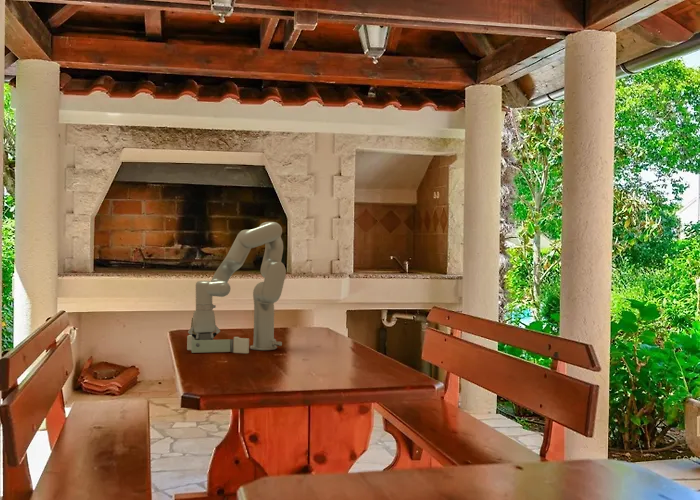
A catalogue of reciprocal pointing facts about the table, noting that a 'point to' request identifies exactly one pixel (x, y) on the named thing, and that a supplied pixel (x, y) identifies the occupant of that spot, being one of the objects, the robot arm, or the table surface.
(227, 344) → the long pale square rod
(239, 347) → the pale rectangular blocks
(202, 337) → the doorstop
